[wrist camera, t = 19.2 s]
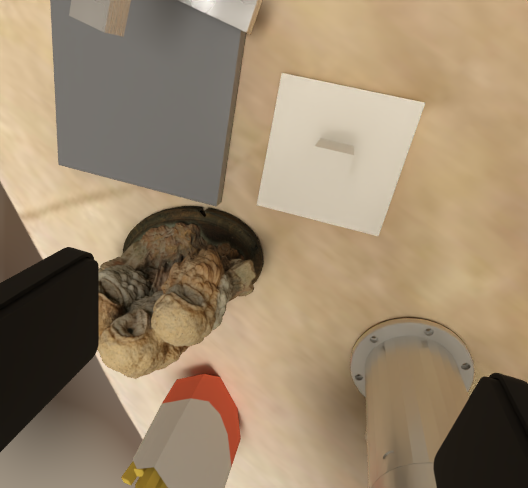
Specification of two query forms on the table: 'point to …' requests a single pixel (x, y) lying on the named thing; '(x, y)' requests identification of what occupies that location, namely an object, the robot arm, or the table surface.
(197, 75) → the base
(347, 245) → the table surface
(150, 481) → the french fries container
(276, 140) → the cover
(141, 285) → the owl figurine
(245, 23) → the t key
